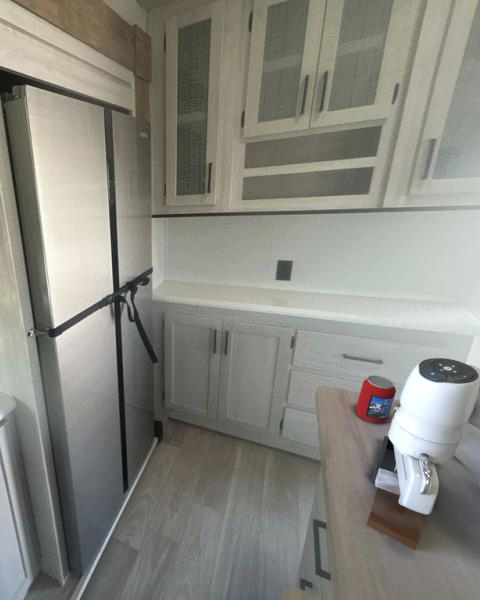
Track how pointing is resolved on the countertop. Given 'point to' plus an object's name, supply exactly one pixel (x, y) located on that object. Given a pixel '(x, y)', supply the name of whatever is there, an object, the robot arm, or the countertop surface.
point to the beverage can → (376, 399)
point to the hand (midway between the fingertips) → (401, 489)
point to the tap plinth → (395, 518)
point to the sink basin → (385, 458)
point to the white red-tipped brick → (387, 481)
